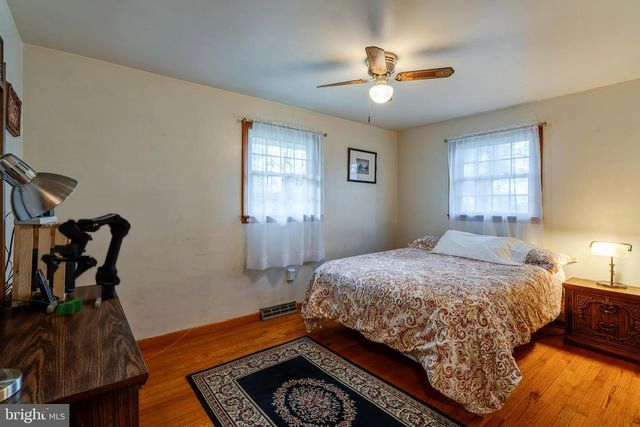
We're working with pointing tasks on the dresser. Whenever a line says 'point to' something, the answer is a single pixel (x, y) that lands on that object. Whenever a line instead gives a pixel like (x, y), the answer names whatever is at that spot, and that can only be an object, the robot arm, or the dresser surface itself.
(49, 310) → the slot rails
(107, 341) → the dresser surface
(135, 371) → the dresser surface
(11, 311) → the dresser surface
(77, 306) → the pipe clamp
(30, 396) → the dresser surface
